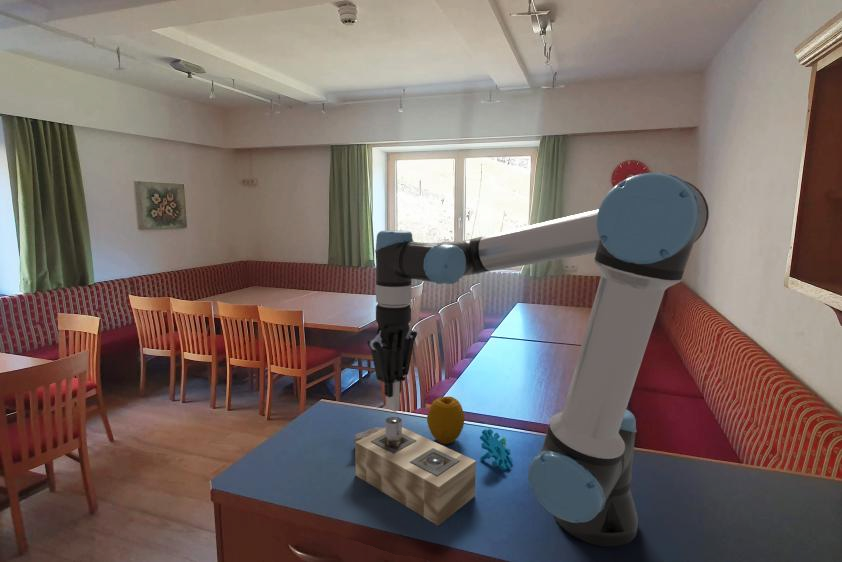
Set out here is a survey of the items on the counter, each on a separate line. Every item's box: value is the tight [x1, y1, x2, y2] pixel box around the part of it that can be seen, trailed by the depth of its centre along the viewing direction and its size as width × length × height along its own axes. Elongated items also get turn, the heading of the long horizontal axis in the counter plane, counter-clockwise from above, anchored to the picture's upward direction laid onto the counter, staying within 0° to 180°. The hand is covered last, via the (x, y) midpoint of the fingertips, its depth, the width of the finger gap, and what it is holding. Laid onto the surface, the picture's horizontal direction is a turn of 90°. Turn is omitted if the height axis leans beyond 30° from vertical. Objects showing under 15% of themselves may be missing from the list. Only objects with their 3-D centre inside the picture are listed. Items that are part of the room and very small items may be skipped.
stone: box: [353, 426, 384, 445], centre depth 110 cm, size 10×8×6 cm
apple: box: [426, 396, 466, 445], centre depth 115 cm, size 10×10×12 cm
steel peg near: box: [426, 455, 444, 470], centre depth 92 cm, size 4×4×8 cm
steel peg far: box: [384, 416, 403, 449], centre depth 99 cm, size 4×4×8 cm
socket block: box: [354, 426, 477, 526], centre depth 96 cm, size 24×12×8 cm, turn 48°
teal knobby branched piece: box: [479, 428, 513, 471], centre depth 106 cm, size 11×6×10 cm
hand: (392, 408), depth 98 cm, fingers closed
